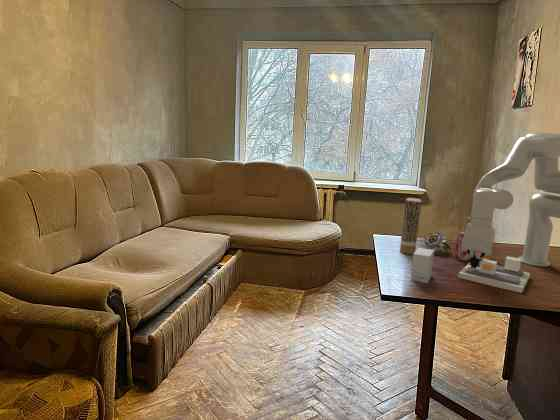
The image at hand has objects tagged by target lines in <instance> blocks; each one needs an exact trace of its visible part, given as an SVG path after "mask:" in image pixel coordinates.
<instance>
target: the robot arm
mask: <svg viewBox="0 0 560 420" xmlns="http://www.w3.org/2000/svg"><path fill="white" fill-rule="evenodd" d="M559 158H560V133H551V132H550V133H549V132H533V133H528V134H526V135H525V136H522V137H519V138H518V139H517V140H516V142H515V143H514V145H513V147H511V150H510V151H509V153H508V154H507V156H506V158H505V160H504V162H503V163H502V164H501V165H499V166H497V167H496V168H493V169H492V170H491V171H489V172H488V173H486V174H485V175H484V176H482V177H481V179H480V180H479V182H478V183H477V186H476V187H475V189H474V190H473V194H472V199H473V202H472V208H471V213H470V216H466V221H469V223H467V225H466V227H465V231H464V232H465V233H464V238H463V243H462V250H463V251H465V252H467V253H468V254H469V255H470V257H471V259H470V261H469V262H470V265H471V268H476V267H477V266H479V261H481V259H480V258H481V257H483V256H491V257H492V254H493V253H492V252H491V250H492V251H493V246H494V240H493V227H494V226H492V223H493V219H494V218H493V217H494V212H495V209H496V210H497V209H498V210H506V209H509V208H510V207H511V206H512V205H513V203H514V196H513V194H512V193H511V192H510V191H508V190H505V189H500V188H499V189H498V188H494V186H495V185H496V184H499V183H501V182H504V181H510V180H513V179H517V178H520V177H522V176H524V175H525V173H526V171H527V170H528V168H529V166H530V164H531V163H532V161H533V160H534V175H533V176H534V179H533V181H534V184H533V185H534V188H535V189H536V190H537V191H540V192H541V193H540V192H539V193H535V194H533V195H532V196H531V197H530V198H529V203H528V209H529V210H528V223H527V229H526V234H525V240H524V244H523V245H524V246H523V249H522V255H520V256H518V257H517V258H518V259H521V263H522V264H526V265H530V266H536V267H541V268H543V267H546V268H547V267H550V265H551V262H550V261H549V260H547V259H548V255H549V249H550V246H551V244H550V243H551V240H552V234H553V228H554V227H553V222H552V220H551V217H552V218H555V219H560V169H559ZM550 193H551V194H550ZM492 245H493V246H492ZM476 252H478V254H477V256H476Z"/></svg>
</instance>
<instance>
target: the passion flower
mask: <svg viewBox="0 0 560 420" xmlns="http://www.w3.org/2000/svg"><path fill="white" fill-rule="evenodd" d="M441 233H442V230H437V231H435V232H430V233H428V235H426V236H427V237H424V239H423V240H421V241H420V242H421V244H425V245H426V246H425V249H431V250H434V252H436V251H437V250H438V249H439V250H441V247H442V249H443V251H444V252H443V253H444V255H445V254H446V255H448V252H451V251H452V250H451V247H450V245H449V244H448V243H447V242H448V240H446V239H447V237H448V236H447V235H442V234H441ZM449 242H450V244H451V246H452V245H453V242H452V240H451V239H450V240H449Z"/></svg>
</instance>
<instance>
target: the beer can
mask: <svg viewBox="0 0 560 420" xmlns="http://www.w3.org/2000/svg"><path fill="white" fill-rule="evenodd" d="M492 227H493V241H494V240H495V233H496V229H495V227H494V226H492ZM493 246H494V244H493V245H492V247H493ZM492 251H493V249H492V250H491V252H492ZM477 254H478V252H477V251H475V257H476V256H477ZM491 257H492V255H491V256H483V257H481V258H480V261H482V259H487V260H491Z"/></svg>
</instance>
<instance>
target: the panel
mask: <svg viewBox="0 0 560 420" xmlns="http://www.w3.org/2000/svg"><path fill="white" fill-rule="evenodd" d="M481 261H482V260H480V261H479V266H477V267H476V268H471V265H470V261H469V263H468V262H467V264H466V266H464V267H463V268H462V269H461V270H459V272H458V275H457V278H458V279H462V280H467V281H471V282H475V283H480V284H483V285H487V286H492V287H495V288H500V289H504V290H509V291H512V292H516V293H520V294H522V293H523V292H524V289H525V287H526V285H527V284H528V280H529V279H530V275H531V274H530V272H526V271H524V270H523V269H520V270H519V272H516V271H511V270H507V269H504V267H505V265H499V264H497V266H496V272H495V274H494V275H491V274H486V273H482V272H479V271H480V264H481Z"/></svg>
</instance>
